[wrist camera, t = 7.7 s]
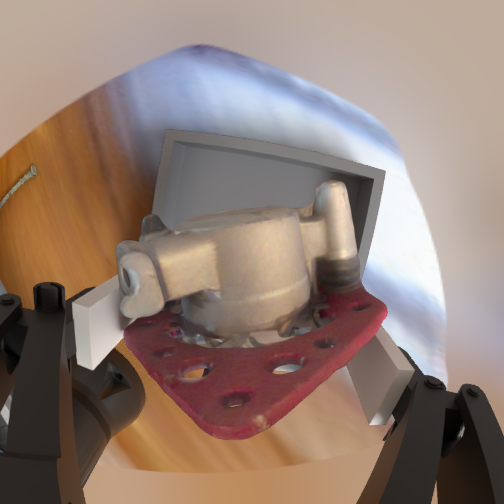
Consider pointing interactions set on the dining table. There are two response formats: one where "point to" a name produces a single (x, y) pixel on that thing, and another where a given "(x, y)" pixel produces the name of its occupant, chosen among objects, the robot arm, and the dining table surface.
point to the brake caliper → (247, 308)
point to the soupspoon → (25, 178)
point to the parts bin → (257, 181)
